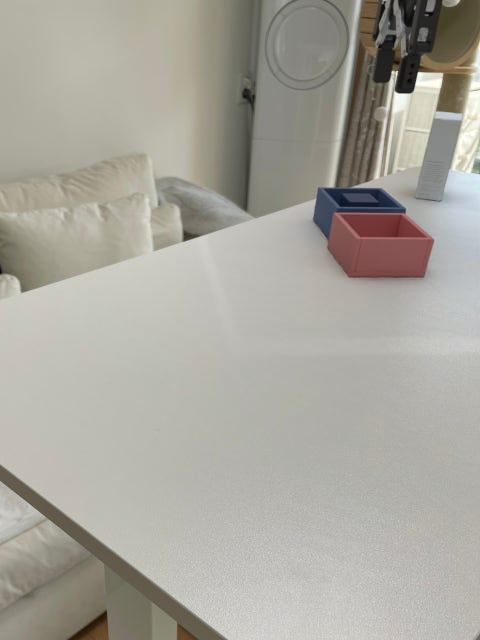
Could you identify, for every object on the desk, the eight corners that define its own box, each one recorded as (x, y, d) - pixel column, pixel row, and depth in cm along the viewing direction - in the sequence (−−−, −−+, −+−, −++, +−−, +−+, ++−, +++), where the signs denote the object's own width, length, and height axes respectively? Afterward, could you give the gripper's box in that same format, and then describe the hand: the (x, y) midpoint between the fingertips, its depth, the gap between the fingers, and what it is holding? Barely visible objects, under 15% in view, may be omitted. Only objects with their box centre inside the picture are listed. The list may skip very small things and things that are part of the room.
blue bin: (374, 220, 95) (381, 187, 92) (398, 243, 87) (406, 208, 84) (312, 219, 94) (318, 187, 92) (330, 243, 86) (337, 208, 84)
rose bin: (395, 248, 85) (404, 213, 83) (424, 277, 77) (434, 239, 75) (327, 247, 85) (333, 212, 82) (348, 276, 77) (356, 238, 74)
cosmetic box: (415, 188, 109) (435, 110, 102) (442, 191, 108) (463, 113, 101) (413, 198, 105) (433, 117, 98) (441, 201, 103) (463, 119, 96)
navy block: (363, 222, 92) (369, 193, 90) (372, 231, 89) (379, 202, 86) (336, 222, 92) (341, 193, 89) (344, 231, 88) (350, 201, 86)
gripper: (485, -77, 67) (443, 97, 76) (431, -72, 78) (400, 79, 88) (413, -78, 66) (380, 97, 76) (370, -73, 78) (346, 79, 87)
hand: (391, 87), depth 82 cm, fingers open, 8 cm apart
